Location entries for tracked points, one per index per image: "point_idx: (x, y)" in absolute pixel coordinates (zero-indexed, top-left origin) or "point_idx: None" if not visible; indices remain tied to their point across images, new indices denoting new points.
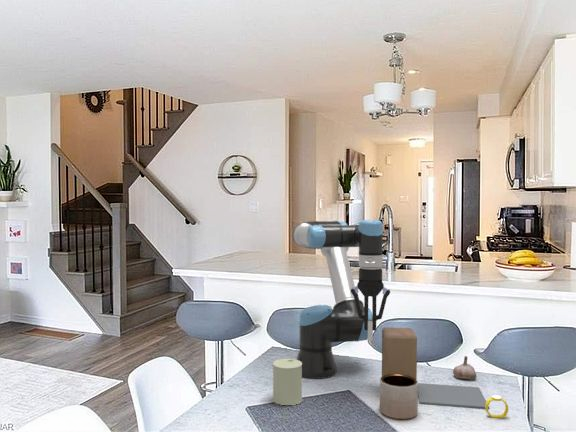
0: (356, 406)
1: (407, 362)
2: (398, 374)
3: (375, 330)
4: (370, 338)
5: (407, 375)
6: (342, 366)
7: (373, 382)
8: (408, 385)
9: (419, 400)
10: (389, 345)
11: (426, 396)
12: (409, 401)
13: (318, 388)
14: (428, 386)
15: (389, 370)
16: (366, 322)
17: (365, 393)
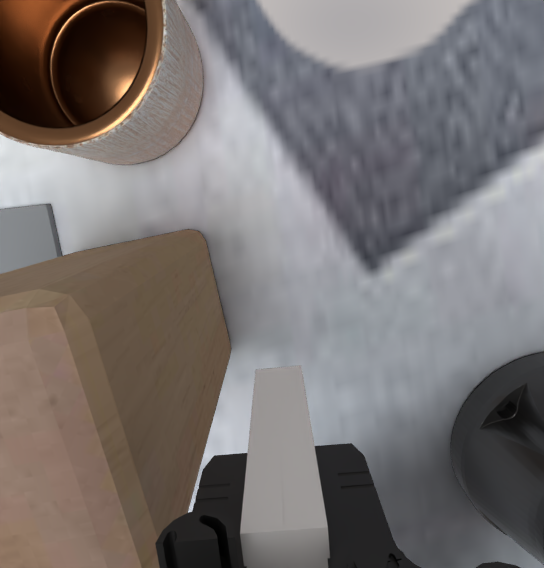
0: (311, 87)
1: (5, 276)
2: (63, 133)
3: (214, 457)
4: (274, 380)
5: (4, 130)
6: (431, 529)
7: None
8: (27, 115)
9: (48, 220)
10: (68, 274)
11: None
12: None
13: (508, 246)
14: None
15: (145, 244)
16: (349, 528)
17: (292, 251)
